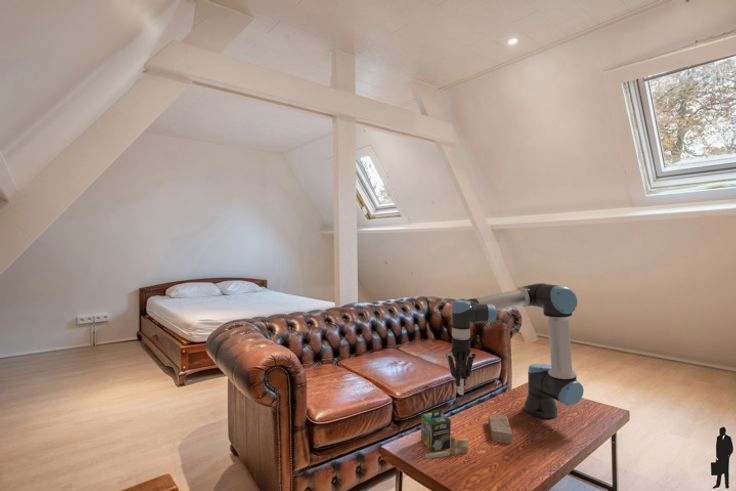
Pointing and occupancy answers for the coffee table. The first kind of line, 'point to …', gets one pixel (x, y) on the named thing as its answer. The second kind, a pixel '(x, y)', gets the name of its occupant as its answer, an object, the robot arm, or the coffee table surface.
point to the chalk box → (435, 430)
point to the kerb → (437, 454)
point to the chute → (459, 446)
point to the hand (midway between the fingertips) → (460, 393)
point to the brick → (500, 428)
